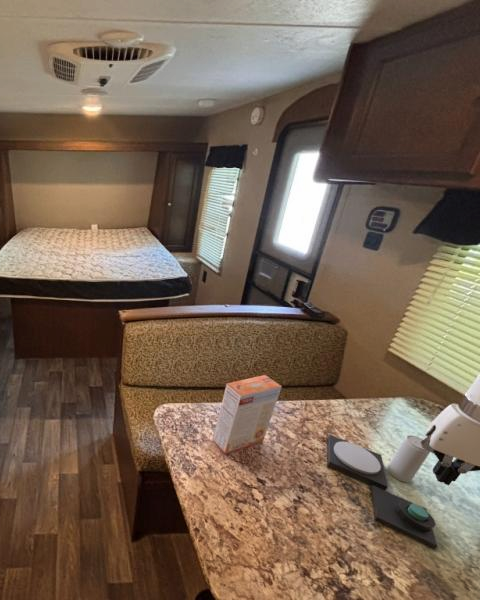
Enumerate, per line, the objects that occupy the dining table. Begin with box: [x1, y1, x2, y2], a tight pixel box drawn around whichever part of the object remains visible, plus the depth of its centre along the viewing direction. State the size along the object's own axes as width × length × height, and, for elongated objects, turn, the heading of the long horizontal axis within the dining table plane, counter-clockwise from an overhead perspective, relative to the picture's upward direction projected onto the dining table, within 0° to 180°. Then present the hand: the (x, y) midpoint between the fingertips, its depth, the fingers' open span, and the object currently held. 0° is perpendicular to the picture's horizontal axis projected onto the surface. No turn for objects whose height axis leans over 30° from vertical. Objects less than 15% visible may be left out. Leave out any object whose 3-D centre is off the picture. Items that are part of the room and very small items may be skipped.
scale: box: [326, 434, 389, 491], centre depth 87 cm, size 12×12×3 cm
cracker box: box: [212, 374, 283, 455], centre depth 89 cm, size 14×6×21 cm, turn 108°
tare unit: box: [369, 485, 438, 550], centre depth 74 cm, size 10×10×3 cm
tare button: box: [407, 503, 429, 521], centre depth 72 cm, size 3×3×2 cm
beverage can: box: [386, 434, 431, 483], centre depth 82 cm, size 5×5×12 cm
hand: (441, 478), depth 67 cm, fingers closed
